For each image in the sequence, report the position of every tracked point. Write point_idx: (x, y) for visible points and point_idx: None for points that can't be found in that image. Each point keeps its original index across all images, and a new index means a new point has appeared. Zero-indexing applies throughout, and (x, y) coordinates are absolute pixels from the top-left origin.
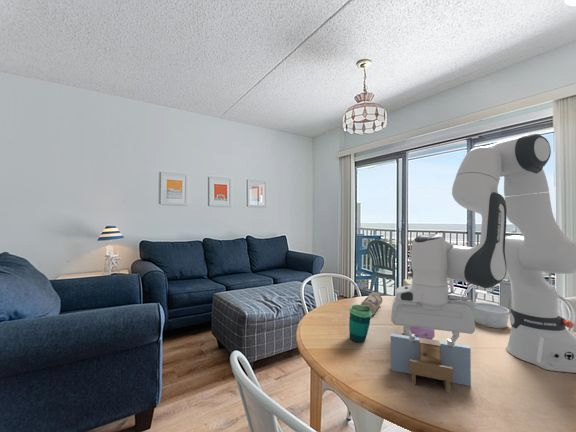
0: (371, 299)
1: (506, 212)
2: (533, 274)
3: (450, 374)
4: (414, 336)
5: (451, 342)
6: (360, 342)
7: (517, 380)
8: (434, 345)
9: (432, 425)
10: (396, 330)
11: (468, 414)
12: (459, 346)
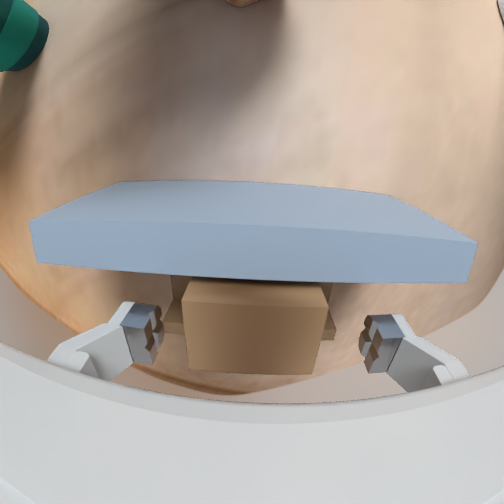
0: None
1: None
2: None
3: None
4: (149, 363)
5: (383, 367)
6: (33, 60)
7: (497, 153)
8: (276, 371)
9: (236, 392)
10: None
11: (323, 348)
12: (431, 279)
